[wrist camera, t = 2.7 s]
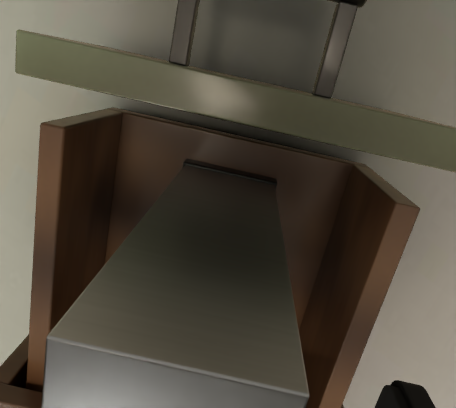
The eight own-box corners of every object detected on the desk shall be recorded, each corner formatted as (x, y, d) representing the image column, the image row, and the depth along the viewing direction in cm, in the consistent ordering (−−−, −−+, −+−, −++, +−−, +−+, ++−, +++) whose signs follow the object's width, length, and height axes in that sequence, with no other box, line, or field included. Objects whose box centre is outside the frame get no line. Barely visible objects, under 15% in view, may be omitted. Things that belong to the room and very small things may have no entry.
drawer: (116, -64, 16) (21, -160, 9) (433, 8, 16) (555, -39, 9) (79, 301, 22) (4, 396, 15) (313, 353, 22) (337, 471, 15)
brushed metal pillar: (186, 158, 17) (38, 329, 6) (276, 178, 17) (319, 392, 6) (168, 259, 19) (24, 555, 7) (250, 277, 19) (241, 603, 7)
